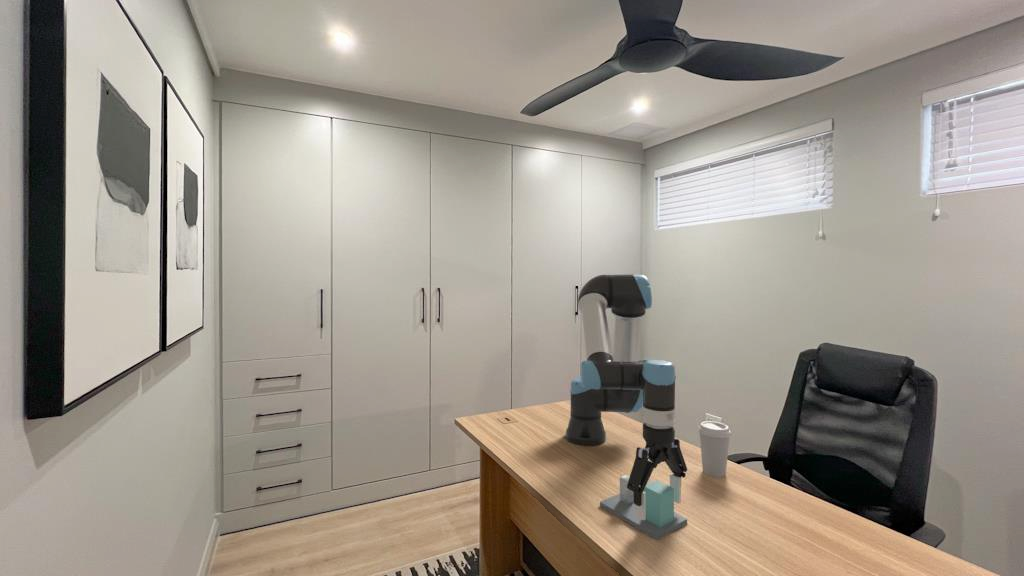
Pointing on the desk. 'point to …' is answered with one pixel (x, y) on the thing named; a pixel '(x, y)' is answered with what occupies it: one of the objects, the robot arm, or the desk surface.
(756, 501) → the desk surface
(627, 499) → the post
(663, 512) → the tall teal pillar
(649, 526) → the slate board
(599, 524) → the desk surface
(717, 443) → the coffee cup
